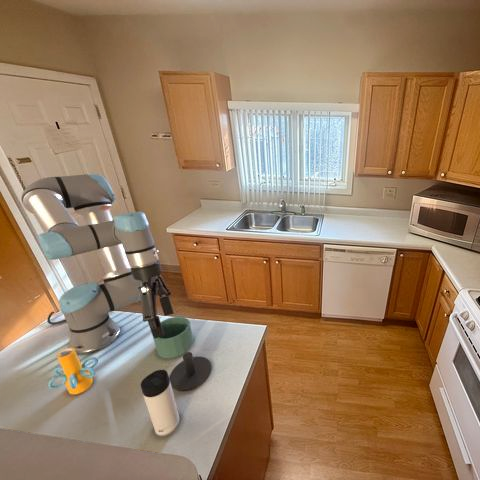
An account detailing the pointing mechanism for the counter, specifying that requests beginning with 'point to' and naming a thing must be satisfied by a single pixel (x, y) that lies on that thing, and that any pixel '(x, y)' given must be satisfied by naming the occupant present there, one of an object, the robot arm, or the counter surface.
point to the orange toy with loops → (73, 372)
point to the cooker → (174, 337)
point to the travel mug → (160, 402)
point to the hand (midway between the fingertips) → (164, 324)
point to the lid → (190, 372)
